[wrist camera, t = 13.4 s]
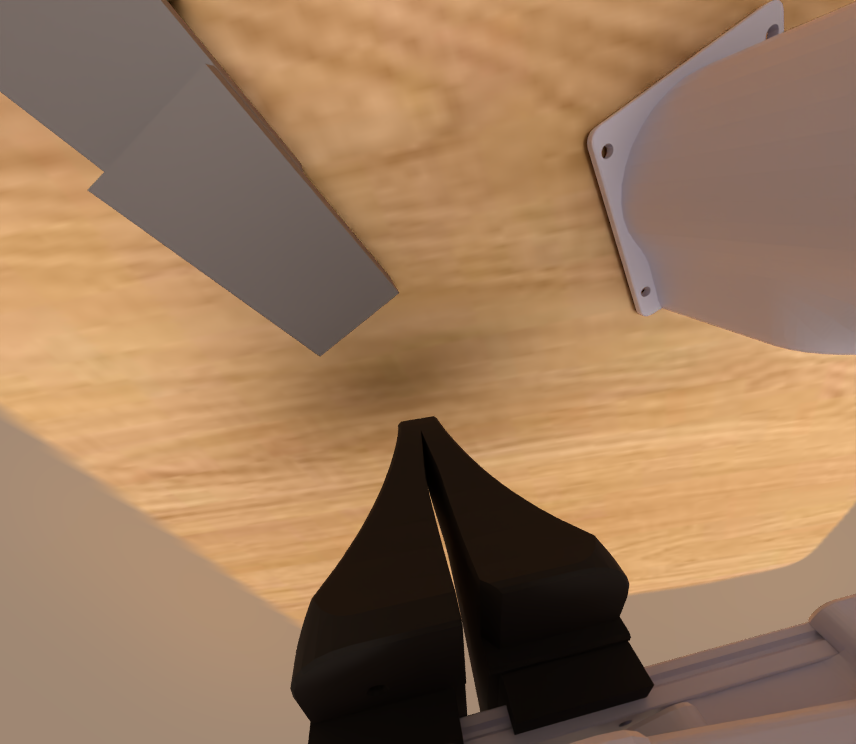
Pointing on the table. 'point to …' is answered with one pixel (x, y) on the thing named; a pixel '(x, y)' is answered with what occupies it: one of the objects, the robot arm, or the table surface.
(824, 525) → the table surface
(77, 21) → the domino
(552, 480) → the table surface
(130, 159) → the domino
